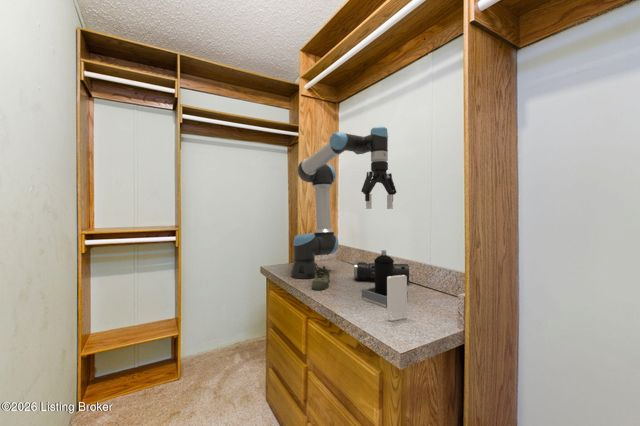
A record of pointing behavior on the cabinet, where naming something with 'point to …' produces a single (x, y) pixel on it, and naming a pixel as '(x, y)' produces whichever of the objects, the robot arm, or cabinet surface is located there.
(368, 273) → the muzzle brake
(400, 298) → the phone case
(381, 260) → the aerosol can
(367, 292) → the holder
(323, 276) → the hiking shoe
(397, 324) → the cabinet surface
